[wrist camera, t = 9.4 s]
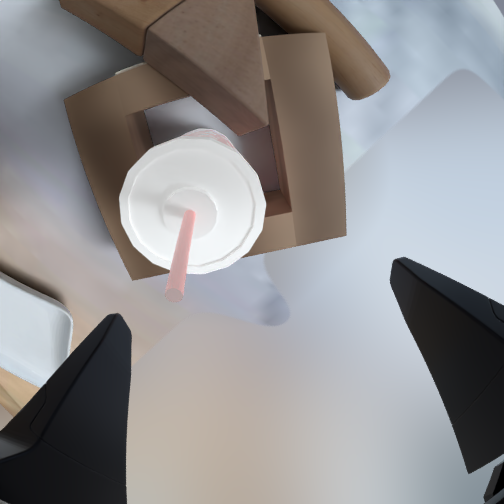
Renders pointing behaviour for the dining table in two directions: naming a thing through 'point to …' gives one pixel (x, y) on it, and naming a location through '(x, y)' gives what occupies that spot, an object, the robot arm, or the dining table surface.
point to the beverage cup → (192, 206)
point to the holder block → (282, 133)
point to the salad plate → (32, 332)
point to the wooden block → (230, 48)
